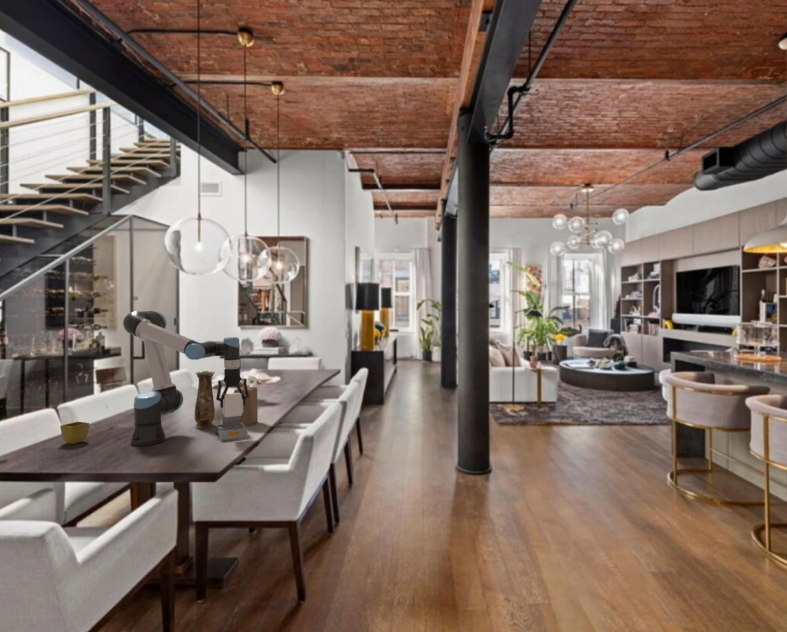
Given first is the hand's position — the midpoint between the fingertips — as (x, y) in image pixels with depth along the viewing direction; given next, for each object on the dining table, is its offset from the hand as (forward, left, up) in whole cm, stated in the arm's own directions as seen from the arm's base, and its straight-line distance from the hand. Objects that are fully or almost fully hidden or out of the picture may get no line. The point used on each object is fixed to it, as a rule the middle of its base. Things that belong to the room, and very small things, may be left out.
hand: (233, 413), depth 230 cm
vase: (-11, +30, -12) cm, 34 cm away
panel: (0, 0, -1) cm, 1 cm away
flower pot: (-70, +27, -12) cm, 76 cm away
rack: (0, +3, -12) cm, 13 cm away
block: (+10, +25, -12) cm, 29 cm away
